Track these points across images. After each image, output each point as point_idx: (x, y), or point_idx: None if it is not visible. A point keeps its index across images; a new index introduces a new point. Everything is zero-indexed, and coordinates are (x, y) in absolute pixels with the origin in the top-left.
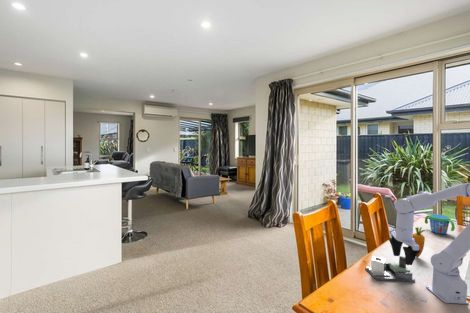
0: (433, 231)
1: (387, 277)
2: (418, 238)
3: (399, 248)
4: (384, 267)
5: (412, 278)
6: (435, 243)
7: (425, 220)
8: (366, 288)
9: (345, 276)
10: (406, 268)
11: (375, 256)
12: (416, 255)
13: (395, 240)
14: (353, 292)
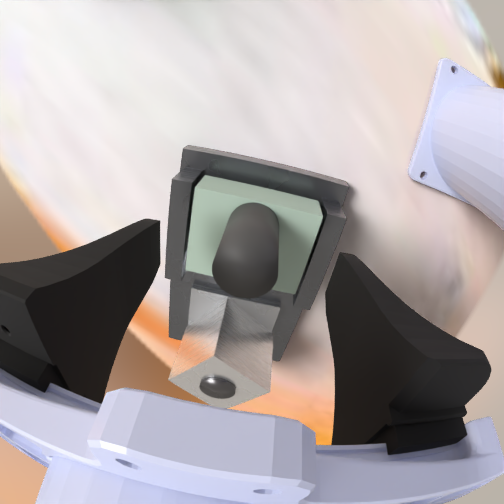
0: None
1: (286, 319)
2: None
3: (119, 267)
4: (251, 344)
5: (332, 191)
6: None
7: None
8: (318, 397)
9: (234, 406)
10: (286, 218)
11: (175, 376)
12: (424, 322)
13: (83, 394)
14: (322, 422)
